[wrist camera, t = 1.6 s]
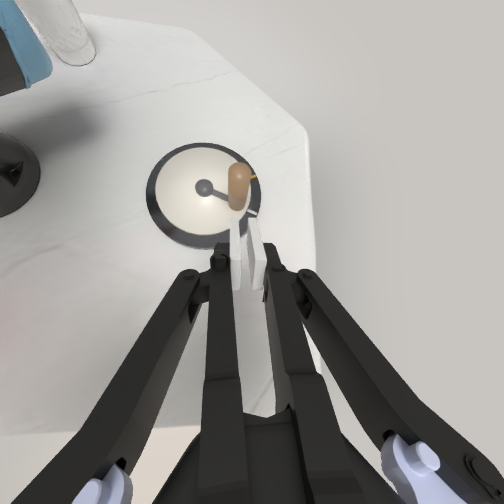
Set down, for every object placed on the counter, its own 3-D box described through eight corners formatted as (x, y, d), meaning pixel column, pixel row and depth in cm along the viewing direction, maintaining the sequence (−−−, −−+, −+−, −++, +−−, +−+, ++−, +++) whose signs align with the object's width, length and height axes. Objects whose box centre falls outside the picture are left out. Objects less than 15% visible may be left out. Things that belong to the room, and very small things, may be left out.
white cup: (78, 75, 38) (25, 1, 28) (45, 52, 38) (-18, -30, 28) (108, 52, 39) (68, -25, 30) (77, 30, 40) (27, -55, 30)
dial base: (125, 186, 35) (120, 181, 33) (215, 130, 39) (214, 123, 37) (196, 272, 34) (194, 271, 32) (280, 205, 38) (283, 201, 36)
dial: (137, 183, 33) (100, 139, 24) (212, 136, 37) (206, 81, 27) (196, 254, 32) (183, 240, 23) (268, 199, 36) (283, 166, 26)
